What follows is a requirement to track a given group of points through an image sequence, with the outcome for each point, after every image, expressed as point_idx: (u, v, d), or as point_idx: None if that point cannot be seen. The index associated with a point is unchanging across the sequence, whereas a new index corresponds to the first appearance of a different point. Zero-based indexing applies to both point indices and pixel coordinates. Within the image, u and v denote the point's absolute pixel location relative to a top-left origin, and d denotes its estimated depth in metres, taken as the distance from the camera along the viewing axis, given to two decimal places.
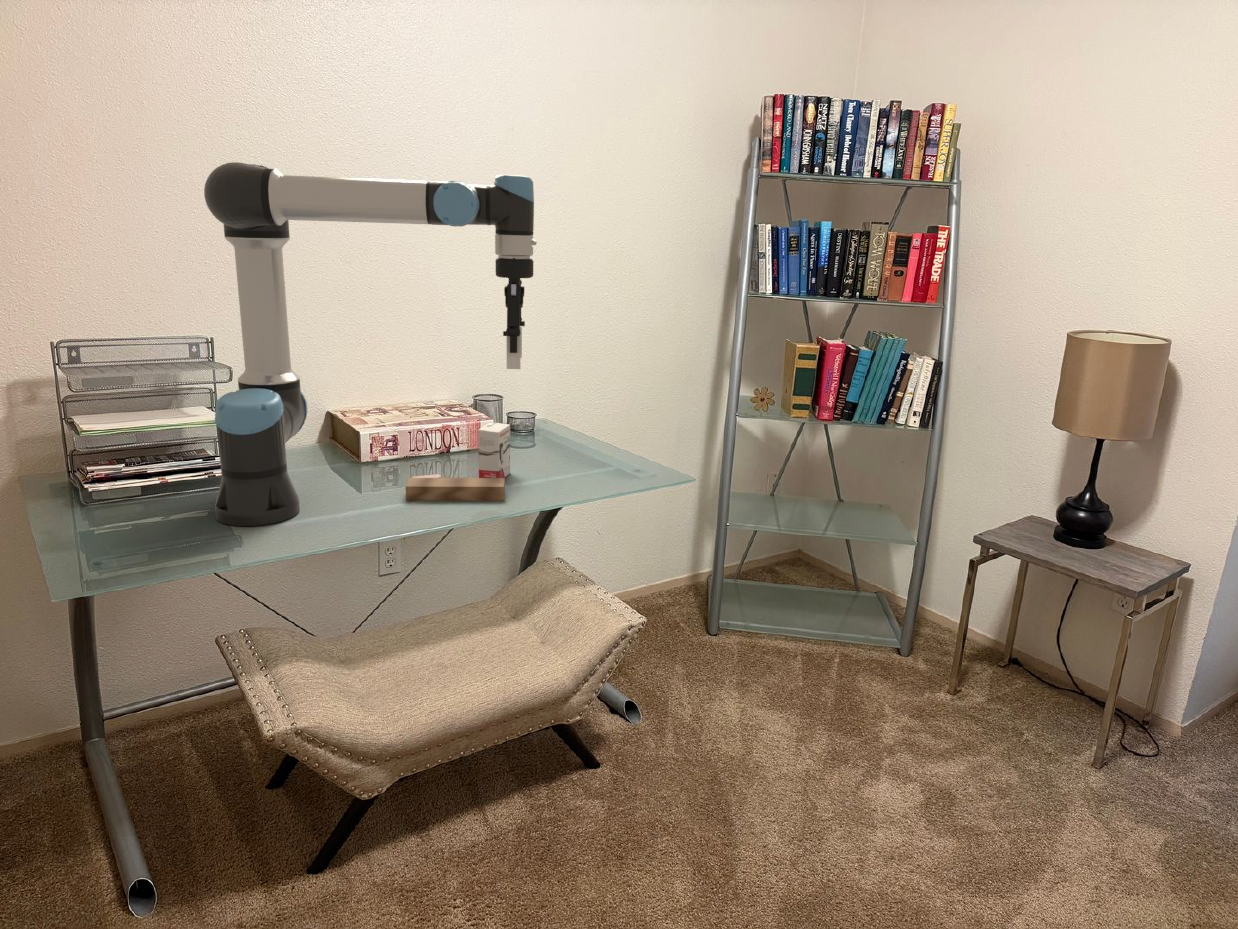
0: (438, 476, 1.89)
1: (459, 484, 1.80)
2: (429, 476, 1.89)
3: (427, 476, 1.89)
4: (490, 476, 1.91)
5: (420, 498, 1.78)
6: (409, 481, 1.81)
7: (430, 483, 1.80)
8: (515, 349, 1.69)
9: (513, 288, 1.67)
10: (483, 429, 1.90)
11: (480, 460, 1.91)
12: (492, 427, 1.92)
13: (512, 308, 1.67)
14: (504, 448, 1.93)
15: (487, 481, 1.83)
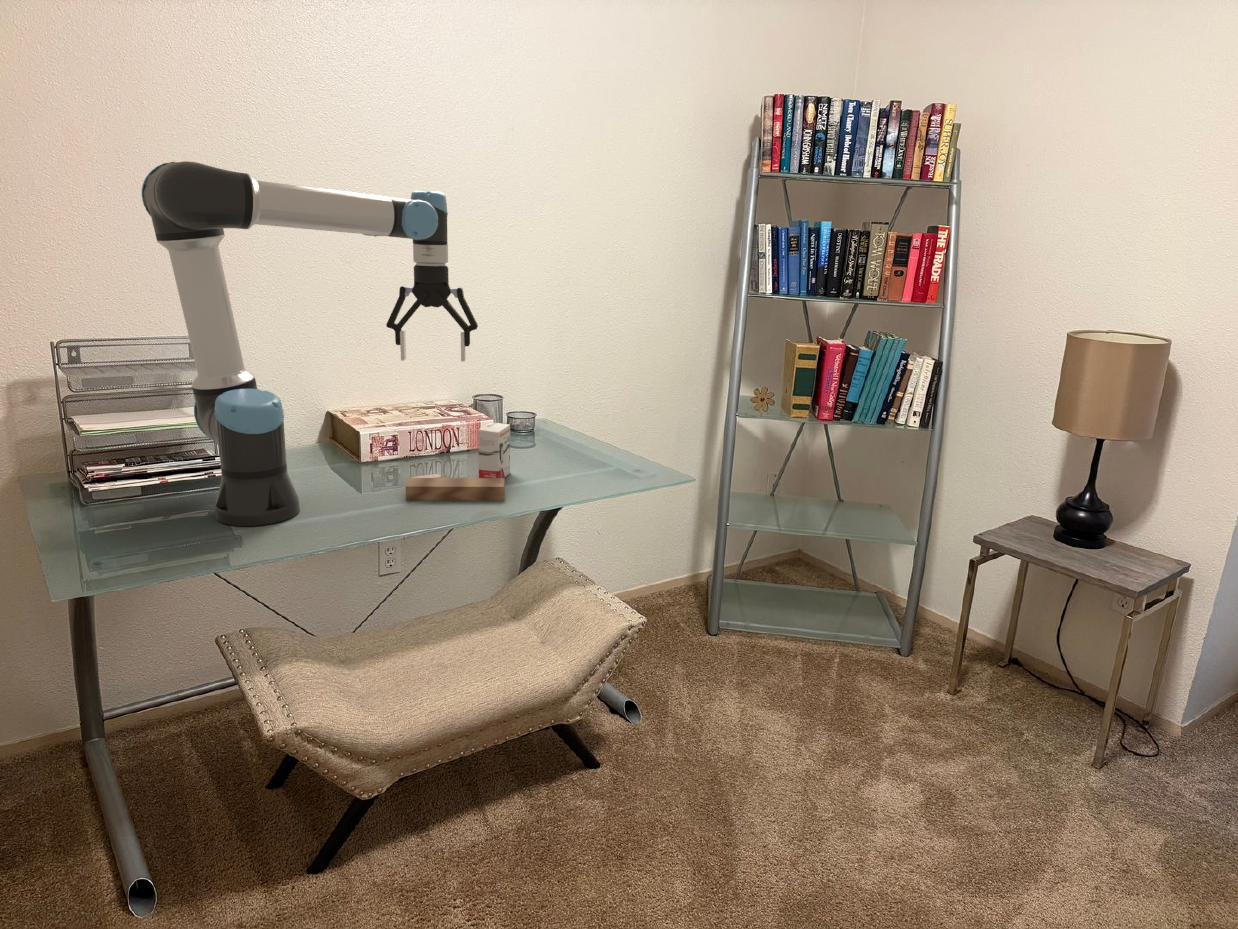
0: (438, 476, 1.89)
1: (459, 484, 1.80)
2: (429, 476, 1.89)
3: (427, 476, 1.89)
4: (490, 476, 1.91)
5: (420, 498, 1.78)
6: (409, 481, 1.81)
7: (430, 483, 1.80)
8: (395, 341, 1.95)
9: None
10: (483, 429, 1.90)
11: (480, 460, 1.91)
12: (492, 427, 1.92)
13: None
14: (504, 448, 1.93)
15: (487, 481, 1.83)
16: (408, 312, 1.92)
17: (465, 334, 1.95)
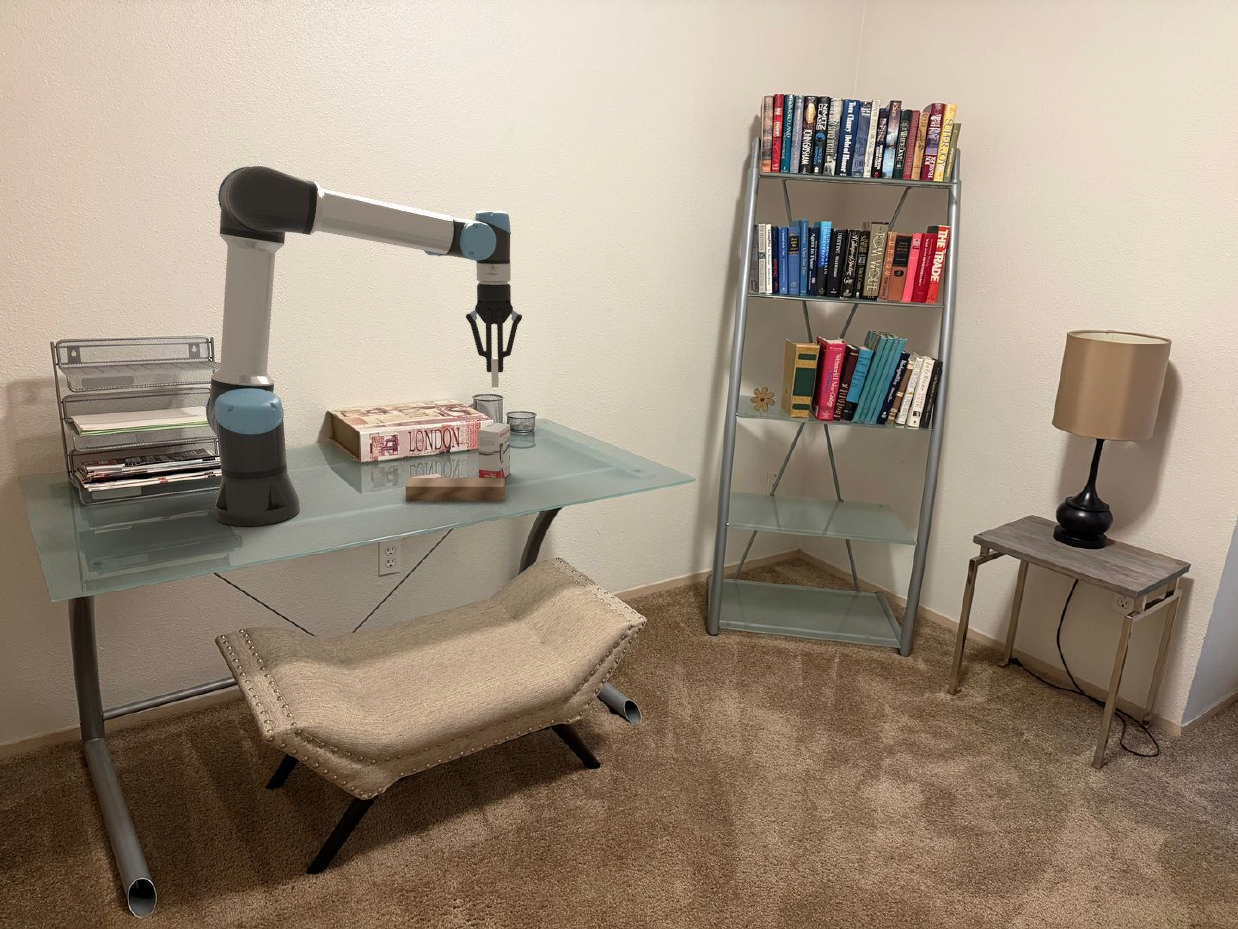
0: (438, 476, 1.90)
1: (459, 484, 1.80)
2: (429, 476, 1.89)
3: (427, 476, 1.89)
4: (490, 476, 1.91)
5: (420, 498, 1.78)
6: (409, 481, 1.81)
7: (430, 483, 1.80)
8: (486, 368, 1.99)
9: None
10: (483, 429, 1.90)
11: (480, 460, 1.91)
12: (492, 427, 1.92)
13: None
14: (504, 448, 1.93)
15: (487, 481, 1.83)
16: (487, 336, 1.96)
17: (499, 360, 1.98)
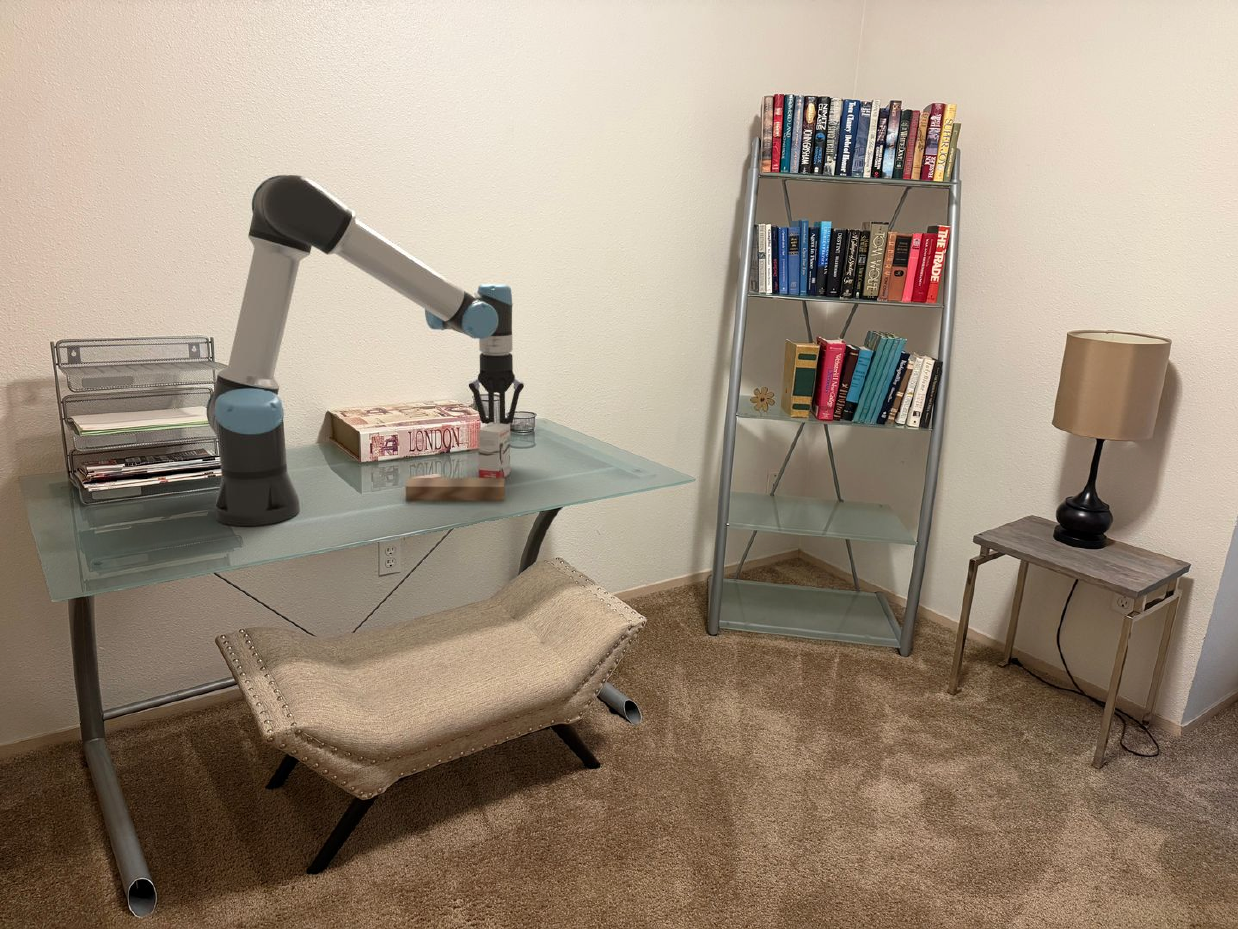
0: (438, 475, 1.90)
1: (459, 484, 1.80)
2: (429, 476, 1.89)
3: (427, 476, 1.89)
4: (490, 476, 1.91)
5: (420, 498, 1.78)
6: (409, 481, 1.81)
7: (430, 483, 1.80)
8: None
9: None
10: (483, 429, 1.90)
11: (480, 460, 1.91)
12: (492, 427, 1.92)
13: None
14: (504, 448, 1.93)
15: (487, 481, 1.83)
16: (489, 405, 2.00)
17: None
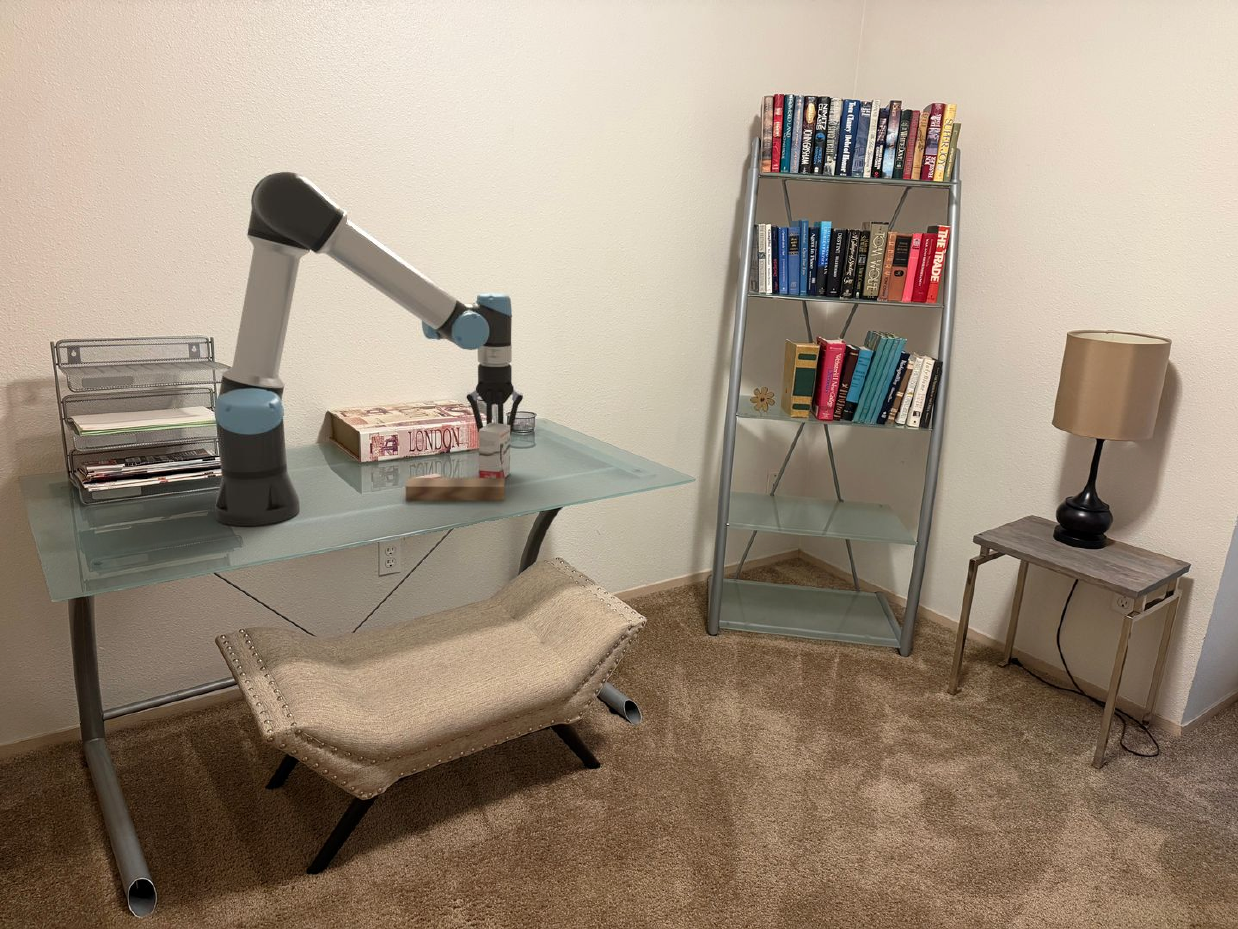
0: (438, 475, 1.90)
1: (459, 484, 1.80)
2: (429, 476, 1.89)
3: (427, 476, 1.89)
4: (491, 477, 1.91)
5: (420, 498, 1.78)
6: (409, 481, 1.81)
7: (430, 483, 1.80)
8: None
9: None
10: (483, 429, 1.89)
11: (480, 461, 1.90)
12: (492, 427, 1.91)
13: None
14: (505, 449, 1.93)
15: (487, 481, 1.83)
16: (487, 416, 1.96)
17: None
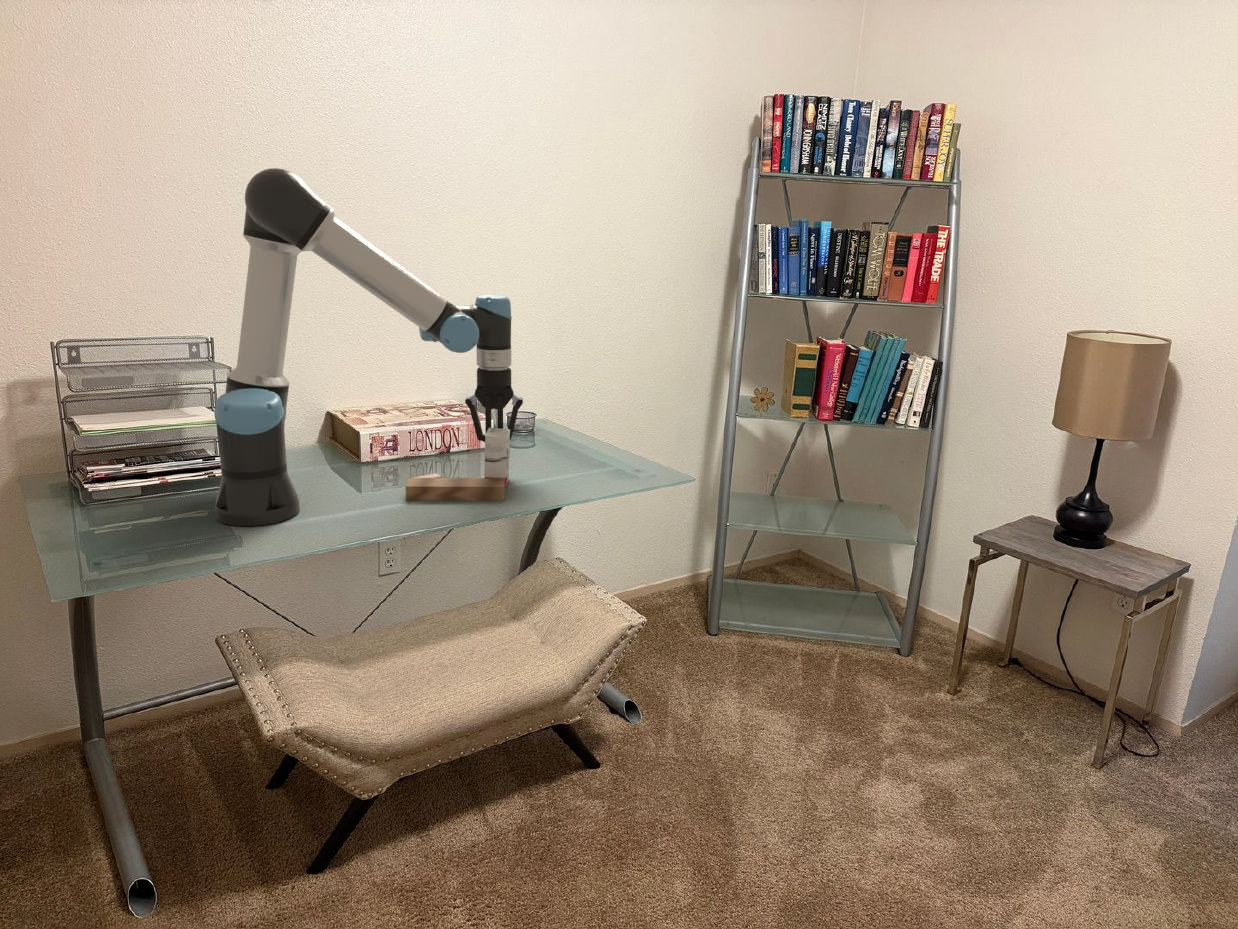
0: (438, 475, 1.90)
1: (459, 484, 1.80)
2: (429, 476, 1.89)
3: (427, 476, 1.89)
4: None
5: (420, 498, 1.78)
6: (409, 481, 1.81)
7: (430, 483, 1.80)
8: None
9: None
10: (489, 435, 1.84)
11: (486, 467, 1.85)
12: (496, 433, 1.87)
13: None
14: (508, 454, 1.89)
15: (487, 481, 1.83)
16: (486, 421, 1.91)
17: None
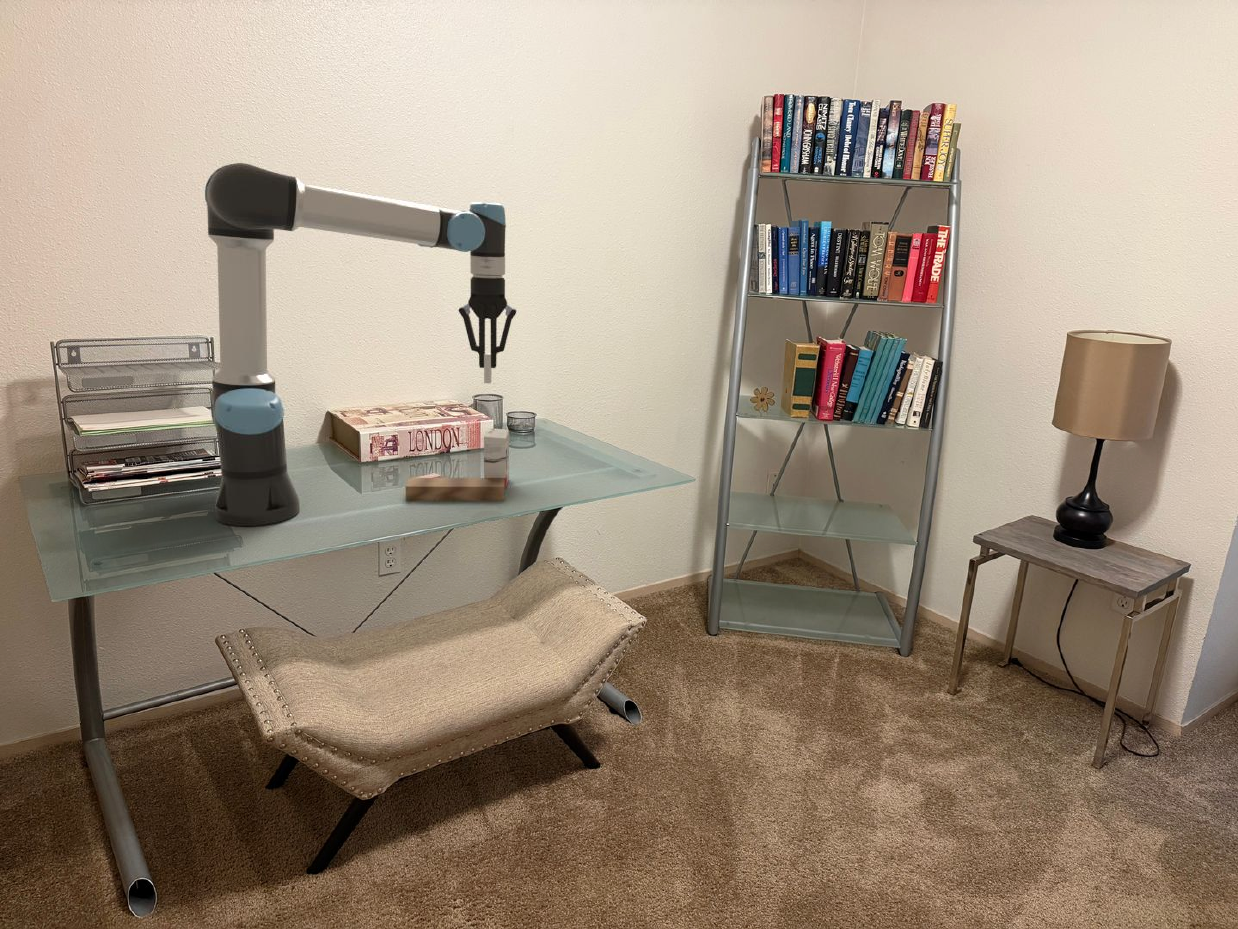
0: (437, 475, 1.90)
1: (459, 484, 1.80)
2: (429, 476, 1.89)
3: (426, 476, 1.89)
4: None
5: (420, 498, 1.78)
6: (409, 481, 1.81)
7: (430, 483, 1.80)
8: (479, 364, 1.95)
9: None
10: (488, 436, 1.84)
11: (486, 468, 1.85)
12: (494, 433, 1.87)
13: None
14: (507, 454, 1.89)
15: (487, 481, 1.83)
16: (480, 331, 1.92)
17: (492, 356, 1.94)
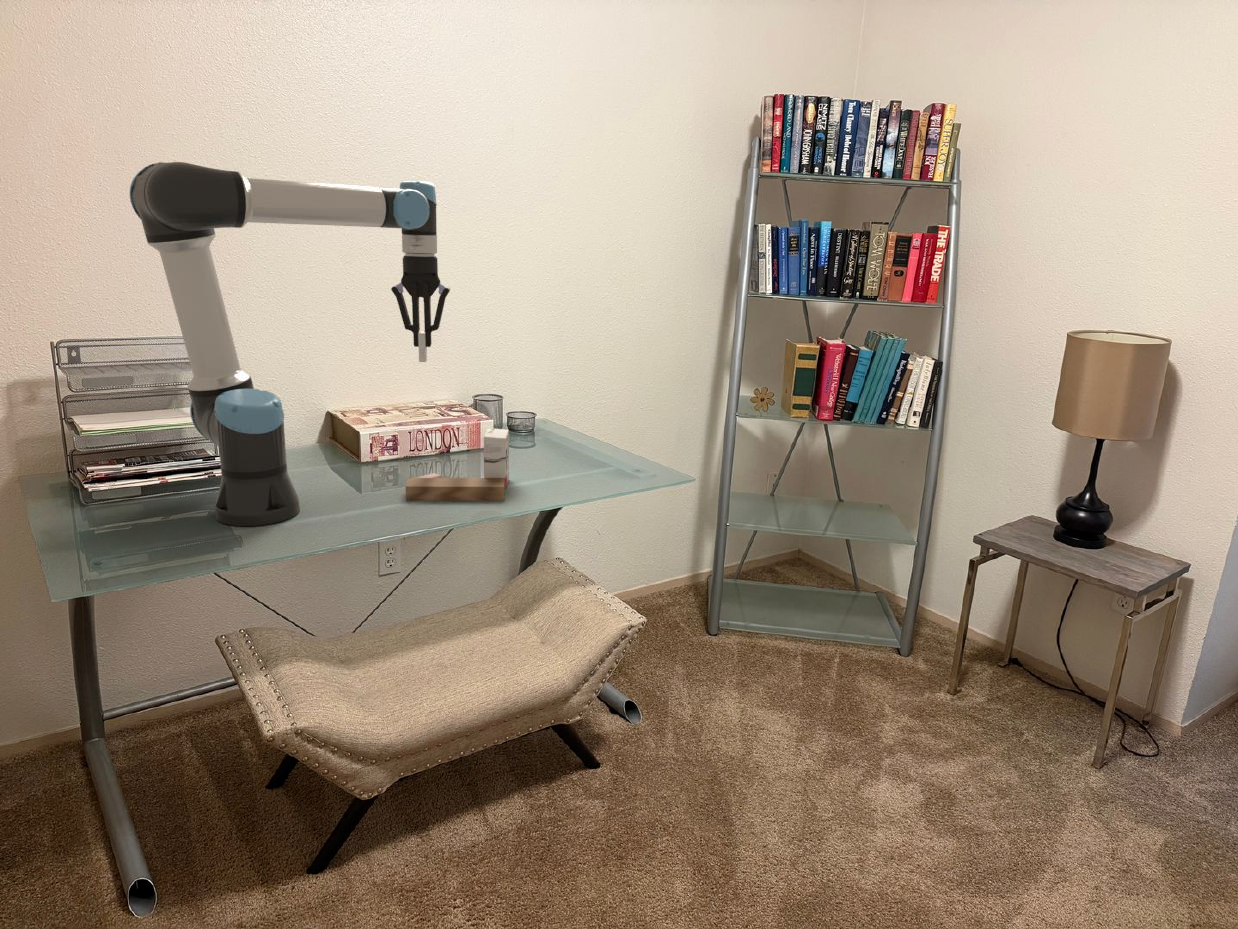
0: (437, 474, 1.90)
1: (459, 484, 1.80)
2: (429, 476, 1.89)
3: (426, 476, 1.89)
4: None
5: (420, 498, 1.78)
6: (409, 481, 1.81)
7: (430, 483, 1.80)
8: None
9: None
10: (488, 436, 1.84)
11: (486, 468, 1.85)
12: (494, 433, 1.87)
13: None
14: (507, 454, 1.89)
15: (487, 481, 1.83)
16: (413, 310, 1.93)
17: (426, 335, 1.95)
